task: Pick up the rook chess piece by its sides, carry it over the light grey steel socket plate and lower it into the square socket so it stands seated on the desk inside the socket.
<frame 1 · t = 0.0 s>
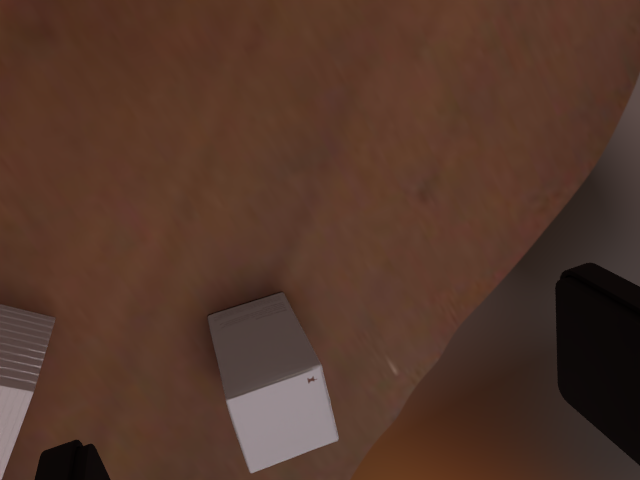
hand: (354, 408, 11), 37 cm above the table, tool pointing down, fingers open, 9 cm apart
supplement box: (254, 334, 52), on the table
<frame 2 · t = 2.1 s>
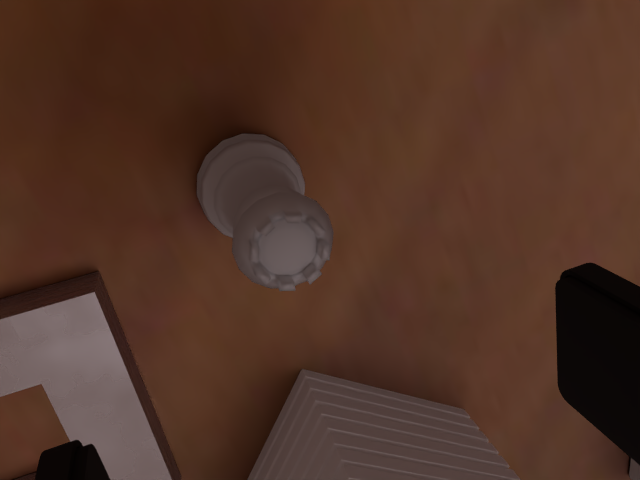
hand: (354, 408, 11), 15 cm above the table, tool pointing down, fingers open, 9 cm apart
rook chess piece: (247, 181, 24), on the table
socket plate: (9, 427, 25), on the table
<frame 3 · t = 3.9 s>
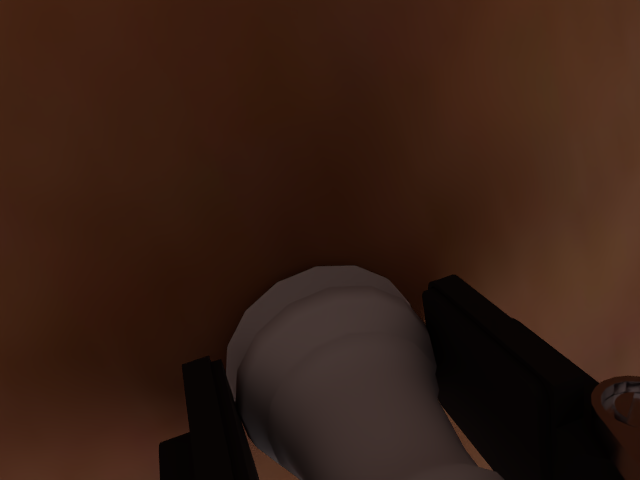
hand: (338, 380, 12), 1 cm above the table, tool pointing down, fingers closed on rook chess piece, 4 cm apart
rook chess piece: (317, 341, 13), on the table, touching gripper
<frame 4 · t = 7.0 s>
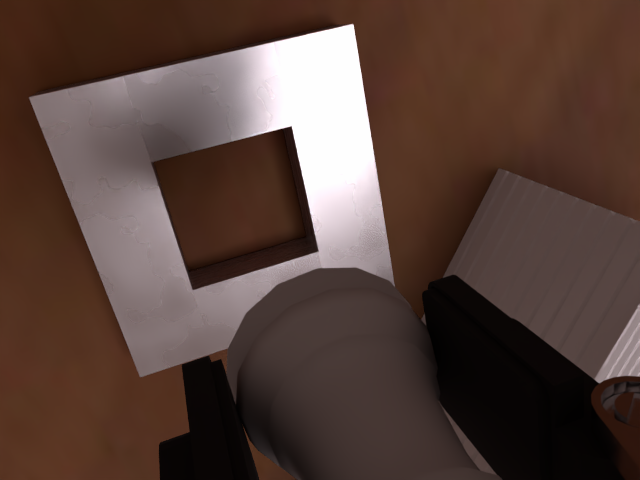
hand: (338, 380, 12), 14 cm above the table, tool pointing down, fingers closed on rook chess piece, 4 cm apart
rook chess piece: (317, 343, 13), point 13 cm above the table, touching gripper
socket plate: (233, 197, 24), on the table
long grey block: (435, 440, 34), on the table
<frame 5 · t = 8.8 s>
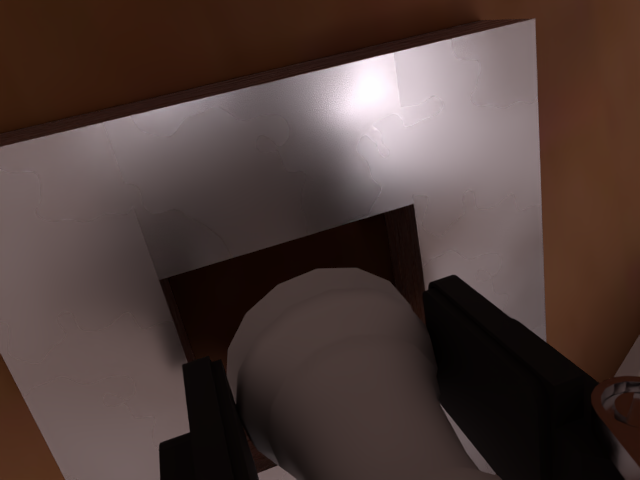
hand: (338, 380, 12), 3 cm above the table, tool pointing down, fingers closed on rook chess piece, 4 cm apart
rook chess piece: (317, 344, 13), point 2 cm above the table, touching gripper
socket plate: (296, 310, 15), on the table
when the fingers open (3 cm above the table, at t = 10.0 s): rook chess piece drops 1 cm, resting in socket plate.
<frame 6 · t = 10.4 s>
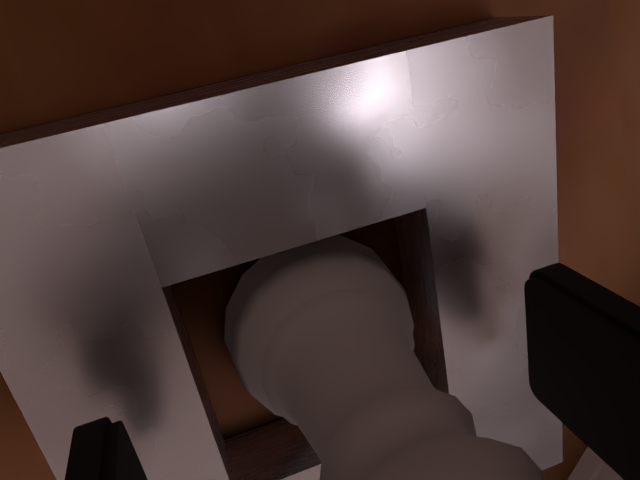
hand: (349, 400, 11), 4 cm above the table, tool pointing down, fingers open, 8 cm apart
rook chess piece: (307, 307, 14), resting in socket plate
socket plate: (302, 317, 14), on the table
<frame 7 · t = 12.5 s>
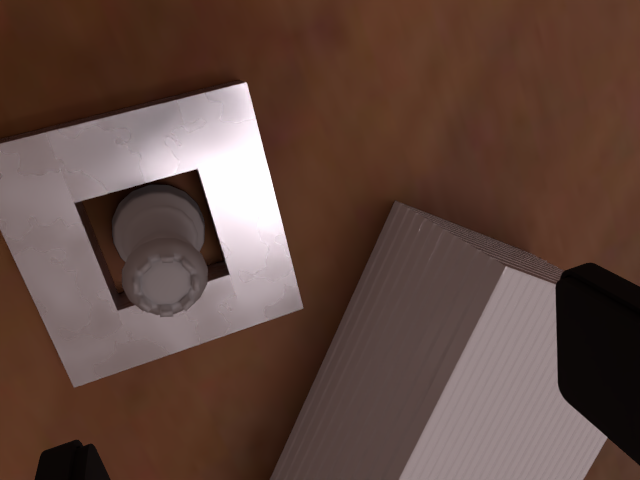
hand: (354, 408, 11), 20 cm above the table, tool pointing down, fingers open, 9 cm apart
rook chess piece: (158, 224, 28), resting in socket plate
socket plate: (155, 228, 28), on the table
long grey block: (359, 443, 37), on the table
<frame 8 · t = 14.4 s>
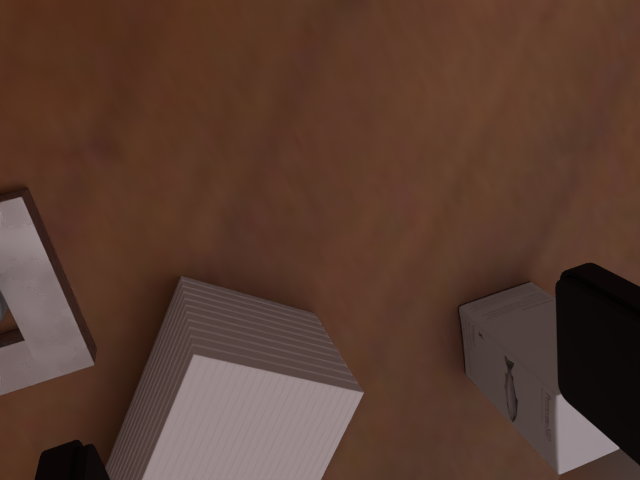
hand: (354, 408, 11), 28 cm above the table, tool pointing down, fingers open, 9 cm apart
long grey block: (175, 467, 44), on the table
supplement box: (495, 327, 49), on the table
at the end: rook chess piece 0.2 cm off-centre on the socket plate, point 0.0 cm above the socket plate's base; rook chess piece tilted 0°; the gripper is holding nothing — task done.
